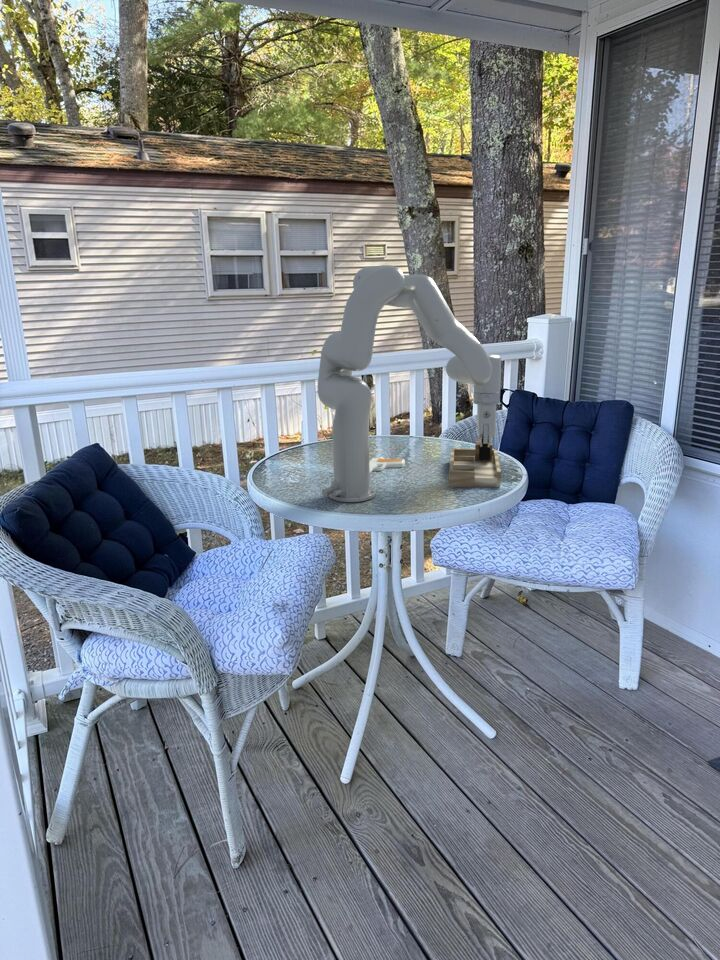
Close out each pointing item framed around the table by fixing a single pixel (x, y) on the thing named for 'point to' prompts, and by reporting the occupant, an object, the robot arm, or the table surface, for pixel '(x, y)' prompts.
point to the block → (477, 444)
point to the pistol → (385, 463)
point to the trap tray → (473, 470)
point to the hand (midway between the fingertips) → (484, 459)
